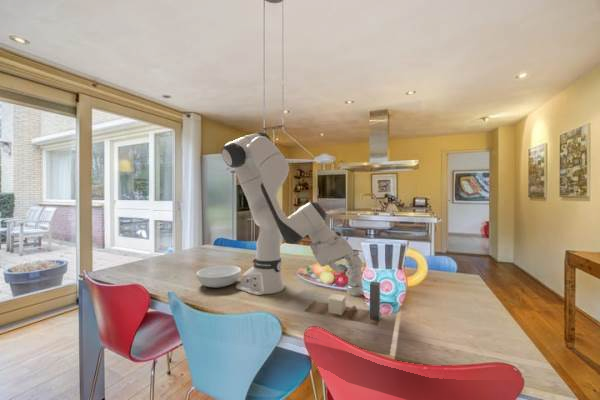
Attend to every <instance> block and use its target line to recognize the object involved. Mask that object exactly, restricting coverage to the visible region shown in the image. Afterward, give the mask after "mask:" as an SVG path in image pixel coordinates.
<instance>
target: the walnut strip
mask: <svg viewBox="0 0 600 400" xmlns="http://www.w3.org/2000/svg"><path fill="white" fill-rule="evenodd" d="M304 312H307V313H312V314H317V315H322V316H327V317H333V318H336V319H337V318H338V319H342V320H346V321H352V322H353V321H354V322H358V323H363V324H367V325H368V324H369V325H373V326H378V325H379V321H380V318H381V315H382V312H381V282H378V281H370V282H369V310H368V309H362V308H357V306H355V305H353V306H352V307H351V306H345V311H344V313H343V314H342V315H339V314H334V313H329V312H328V302H321V301H315V300H314V301H312V302H311V303H310V304H309V305H308V306H307V308H305V309H304Z"/></svg>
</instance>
